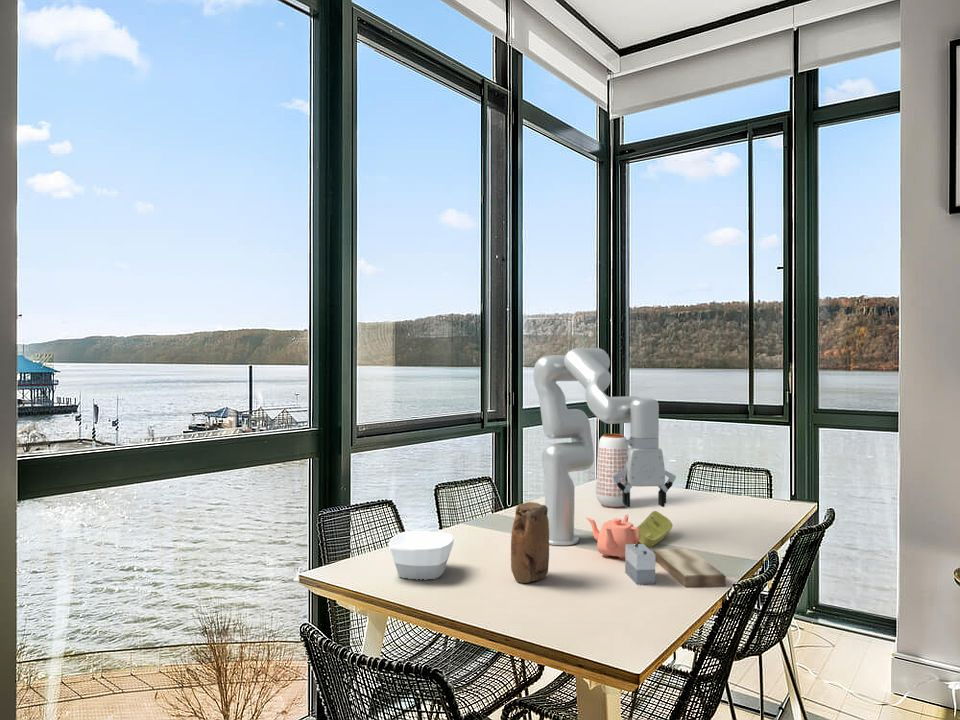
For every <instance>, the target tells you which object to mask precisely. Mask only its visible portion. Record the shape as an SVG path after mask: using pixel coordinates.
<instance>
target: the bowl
mask: <svg viewBox="0 0 960 720" xmlns="http://www.w3.org/2000/svg"><path fill="white" fill-rule="evenodd" d="M454 541H455V540H454V537H453V536H452V534H451V533H446V532H439V531H438V532H437V531H427V530H426V531H402V532H401V533H397V534H396V535H393V537H391V538H390V540H389V542H388V547H389V550H390V553H391V556H392V560H393V563H394V565H395V569H396V571H397V574H398V577H399V578H400V577H402V578H401V579H404V578H408V579H407V580H412V579H416V580H415V581H428V580H427V579H434V580H436V578H437V579H438V578H440V577H441V576H442V575H443V574H444V572H445V569H446V566H447V563H448V560H449V558H450V555H451V551H452V548H453V546H454ZM418 579H420V580H418ZM422 579H424V580H422Z"/></svg>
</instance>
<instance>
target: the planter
mask: <svg viewBox="0 0 960 720" xmlns="http://www.w3.org/2000/svg"><path fill="white" fill-rule="evenodd" d="M625 440H628V439H627V438H626V437H625V435H624V434H621V433H604V434H603V435H602V436H601V437H600V438H599V442H598V449H597V460H596V480H595V481H596V483H595V495H596V499H597V501H598V502H599V504H600V505H601V506H602V507H603V508H608V509H620V508H624V507H625V505H624V504H623V491H622V490H621V489H620V488H619V487H618V486H617V485H616V483H615V481H614V479H613V476H614V475H616V474H618V473H619V472H621V471H623V470H625V466H626V458H627V452H628V448H629V445H626V443H625ZM620 482H621V483H622V484H623V485H624V484H625V483H626V481H625V476H624V477H622V478H620ZM629 493H630V494H631V489H630V490H629Z"/></svg>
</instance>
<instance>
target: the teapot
mask: <svg viewBox="0 0 960 720" xmlns="http://www.w3.org/2000/svg"><path fill="white" fill-rule="evenodd" d="M629 517H630V515H629V514H625V515H624V516H623V520H622V518H617V517H616V518H613V519H610V520H607V521H605V522H604V523H603V524H602V525H601V527H600V530H599V529H598V526H597V523H596V521H595V520H594V519H592V518H588V517H586V518H585V519H587V521H588V522H589V523H590V524H591V529H592V534H593V537H594V539H595V540H596V541H597V551H598V553H599V554H602V555H601V557H604V558H609V557H610V556H611V557H618V558H619V560H621V561H625V544H639V542H638V541H639V539H640V537H641V532H640V530H639V529H638V528H637V527H636V526H634V523H632V522H629ZM635 531H637V533H638V536H637V539H636V533H635Z"/></svg>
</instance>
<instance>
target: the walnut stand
mask: <svg viewBox="0 0 960 720" xmlns="http://www.w3.org/2000/svg"><path fill="white" fill-rule="evenodd" d="M652 552H653V553H654V554H655V563H657V564H658V565H659V566H660V567H661V568H662V569H664V570H665V571H666V572H667V573H668V574H669V575H670V576H672V577H673V579H675V580H676V581H677V582H679V583H680V584H681V585H682V586H683V587H684V586H685V588H697V587H699V588H700V587H701V588H703V586H706V588H707V587H708V588H709V587H726V582H727V581H726V577H727V576H726V575H725V574H724V573H723V572H721V571H720V570H718V569H717V568H716V567H714V566H713V565H711V563H709V562H707V561H706V560H705V559H704V558H702V557H701V556H699V555H698V554H697V553H695V552H694V551H692V550H691V549H690V548H672V549H670V548H666V549H663V548H661V549H654V550H653V551H652Z"/></svg>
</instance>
